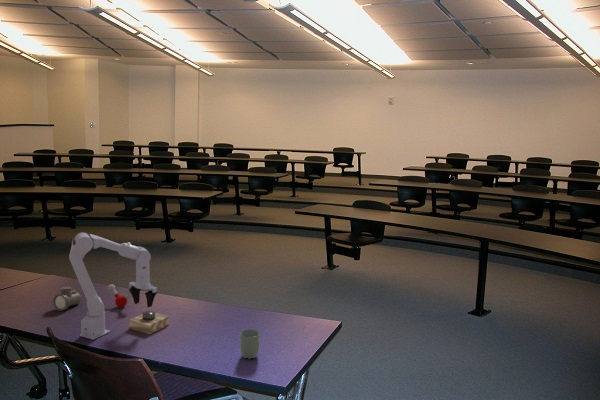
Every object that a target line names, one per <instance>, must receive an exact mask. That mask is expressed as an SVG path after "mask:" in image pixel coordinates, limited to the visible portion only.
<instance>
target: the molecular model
mask: <svg viewBox="0 0 600 400" xmlns="http://www.w3.org/2000/svg"><path fill="white" fill-rule="evenodd" d="M107 291H108V292H110V293H112V294H113V296H114V297H115V301H114V302H115V305H116V307H118V308H123V307H125V306H126V305H127V303H128V299H130V298H133V297H132V294H131V293H130V291H129V290H128V294H125V295H119V293H118V291H117V290H116V286H115V285H114V284H109V285H108V286H107Z"/></svg>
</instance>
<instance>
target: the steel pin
mask: <svg viewBox="0 0 600 400" xmlns="http://www.w3.org/2000/svg"><path fill="white" fill-rule="evenodd" d="M155 313H156V312H155V311H154V310H145V311H143V312H142V314H143V320H146V321H150V320H153V319H155Z"/></svg>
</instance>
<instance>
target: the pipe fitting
mask: <svg viewBox="0 0 600 400" xmlns="http://www.w3.org/2000/svg"><path fill="white" fill-rule="evenodd" d="M81 301H82V296H81V294H80V293H79V292H78V291H77V290H75V289H73V288H72V287H71V286H65V287H61V288H60V293H57V294H55V295H54V296H53V301H52V303H53V306H54V308H55V310H57V311H59V312H64V311H66V310H67V309H68V308H70V307H71V306H76V305H78V304H80V303H81Z"/></svg>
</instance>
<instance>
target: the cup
mask: <svg viewBox="0 0 600 400" xmlns="http://www.w3.org/2000/svg"><path fill="white" fill-rule="evenodd" d="M260 336H261V334H260V331H259V330H257V329H252V328H251V329H250V328H247V329H244V330H241V331H240V332H239V348H240V349H239V350H240V354H241V356H242V357H243V358H244V359H246V358H248V359H247V360H252V359H251V358H253V359H255V358H257V356H258V355H259V353H260V352H259V351H260V343H261V341H260V339H261V337H260Z"/></svg>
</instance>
